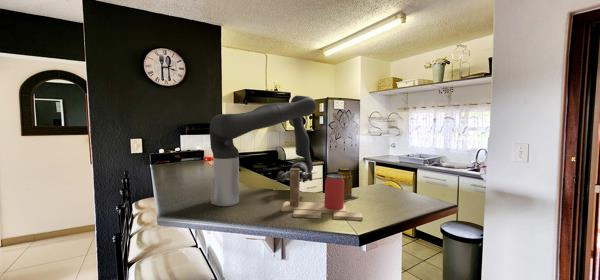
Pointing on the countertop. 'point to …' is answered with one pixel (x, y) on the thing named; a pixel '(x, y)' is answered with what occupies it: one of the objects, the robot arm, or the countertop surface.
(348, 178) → the condiment
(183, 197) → the countertop surface
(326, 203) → the beer can
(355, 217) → the broken strip
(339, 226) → the countertop surface
